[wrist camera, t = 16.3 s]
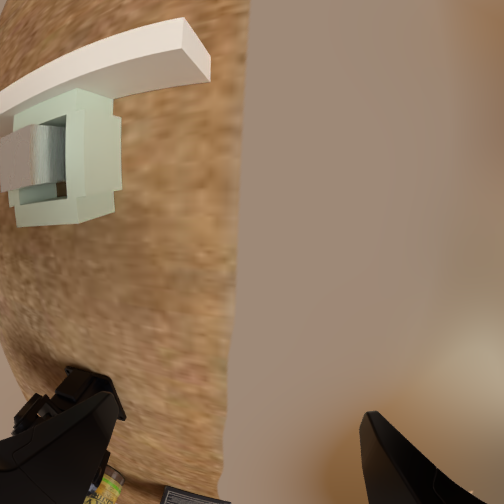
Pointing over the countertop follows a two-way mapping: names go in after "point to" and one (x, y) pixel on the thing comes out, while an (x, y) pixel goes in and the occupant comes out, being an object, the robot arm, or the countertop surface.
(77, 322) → the countertop surface
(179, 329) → the countertop surface
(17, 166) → the grey square block
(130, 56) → the backstop wall
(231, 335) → the countertop surface
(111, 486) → the sauce bottle
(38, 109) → the socket block
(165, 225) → the countertop surface
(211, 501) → the small box
